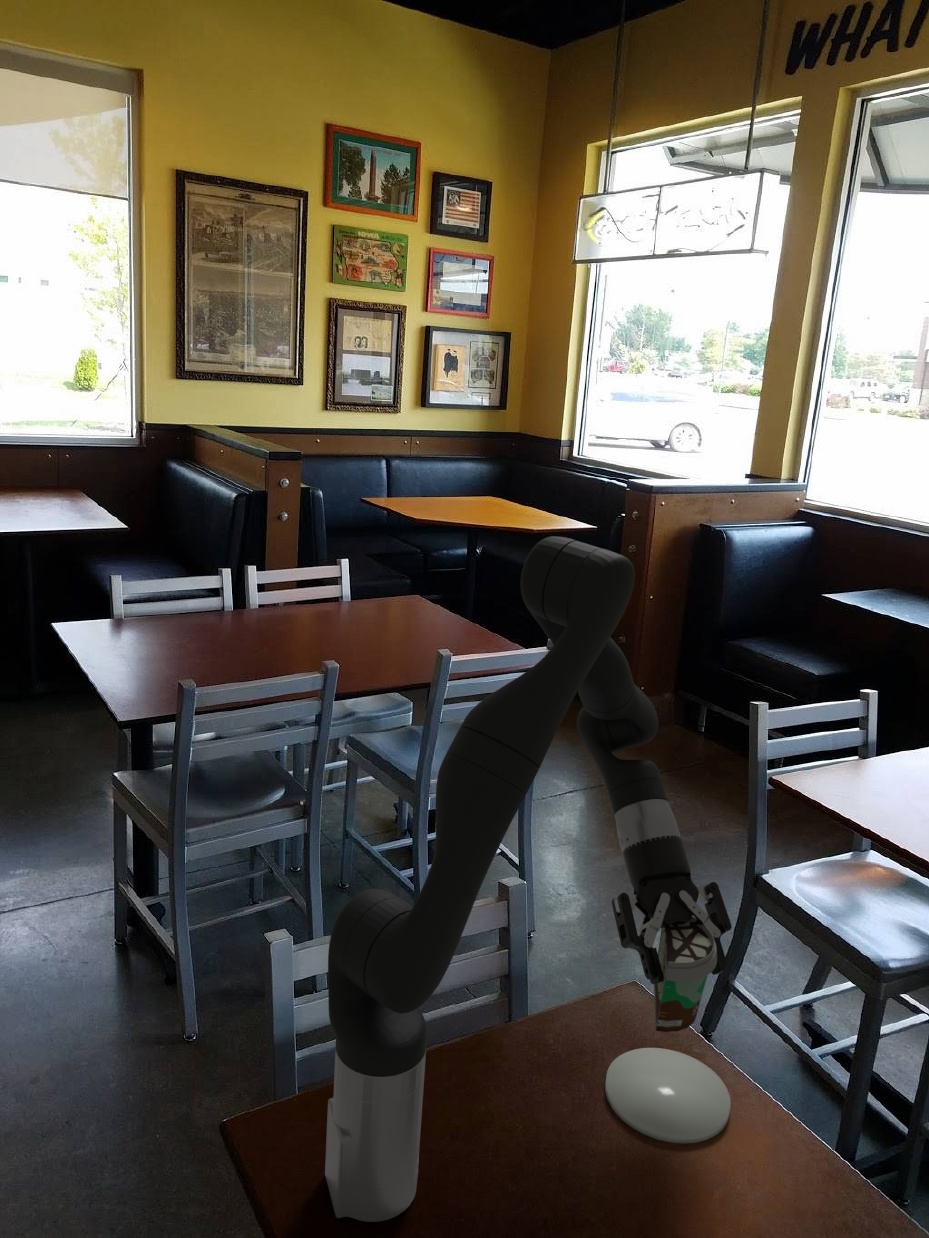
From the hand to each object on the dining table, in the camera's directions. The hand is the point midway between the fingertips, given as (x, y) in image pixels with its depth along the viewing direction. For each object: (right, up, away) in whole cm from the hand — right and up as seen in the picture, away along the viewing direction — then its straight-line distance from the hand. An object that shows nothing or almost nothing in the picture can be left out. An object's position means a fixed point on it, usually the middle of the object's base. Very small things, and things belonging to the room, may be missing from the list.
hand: (689, 977), depth 114 cm
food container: (0, -5, +3) cm, 6 cm away
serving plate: (-2, -16, +5) cm, 17 cm away
